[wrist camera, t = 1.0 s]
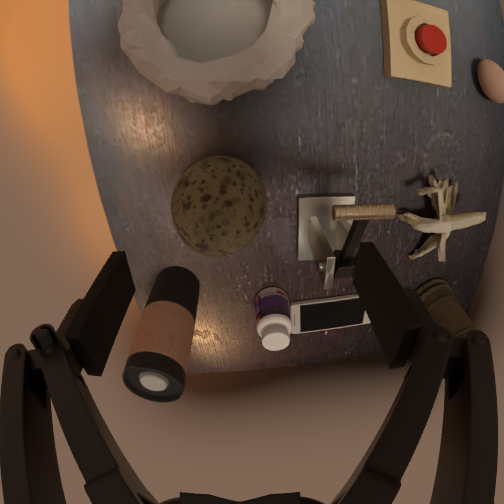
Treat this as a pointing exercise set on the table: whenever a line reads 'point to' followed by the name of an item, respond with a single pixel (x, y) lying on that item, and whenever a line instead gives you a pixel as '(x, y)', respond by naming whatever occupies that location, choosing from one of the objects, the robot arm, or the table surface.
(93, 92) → the table surface
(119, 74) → the table surface
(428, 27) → the button
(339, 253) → the lever
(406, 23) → the button box
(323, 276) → the switch bracket
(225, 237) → the decorative egg
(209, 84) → the bowl
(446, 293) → the container
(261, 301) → the pill bottle
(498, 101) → the egg
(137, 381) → the travel mug
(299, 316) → the smartphone
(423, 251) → the branching beige root
